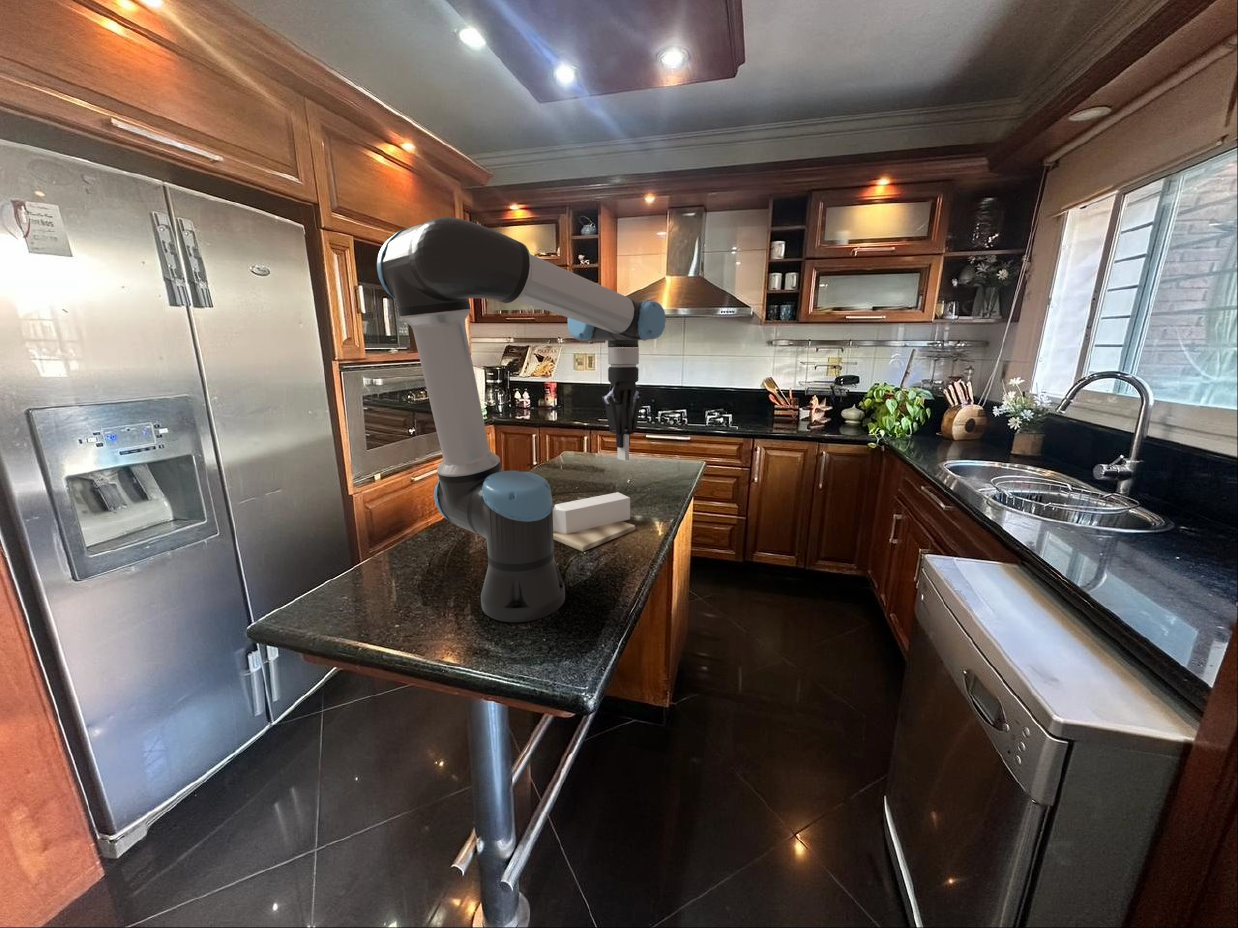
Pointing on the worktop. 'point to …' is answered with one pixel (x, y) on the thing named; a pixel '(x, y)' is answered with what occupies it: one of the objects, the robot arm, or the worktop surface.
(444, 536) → the worktop surface
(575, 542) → the board
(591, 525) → the white carton-shaped block
